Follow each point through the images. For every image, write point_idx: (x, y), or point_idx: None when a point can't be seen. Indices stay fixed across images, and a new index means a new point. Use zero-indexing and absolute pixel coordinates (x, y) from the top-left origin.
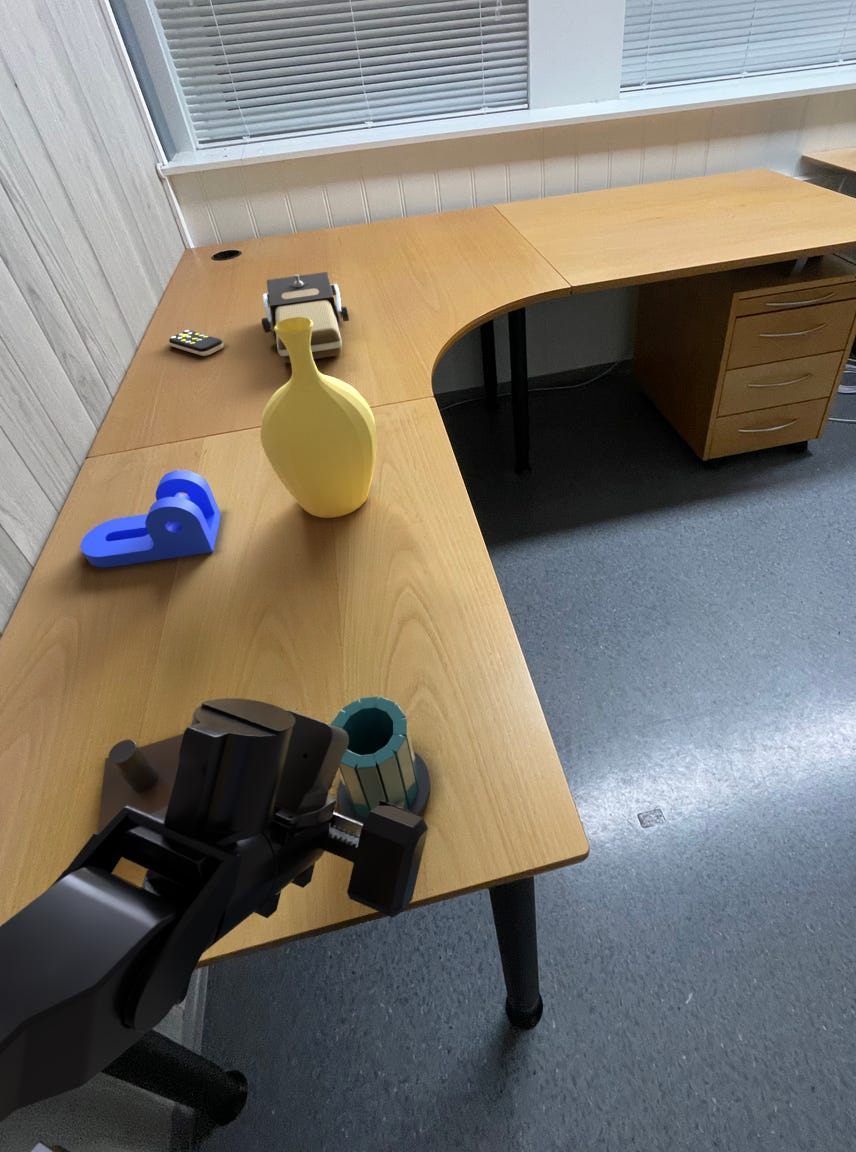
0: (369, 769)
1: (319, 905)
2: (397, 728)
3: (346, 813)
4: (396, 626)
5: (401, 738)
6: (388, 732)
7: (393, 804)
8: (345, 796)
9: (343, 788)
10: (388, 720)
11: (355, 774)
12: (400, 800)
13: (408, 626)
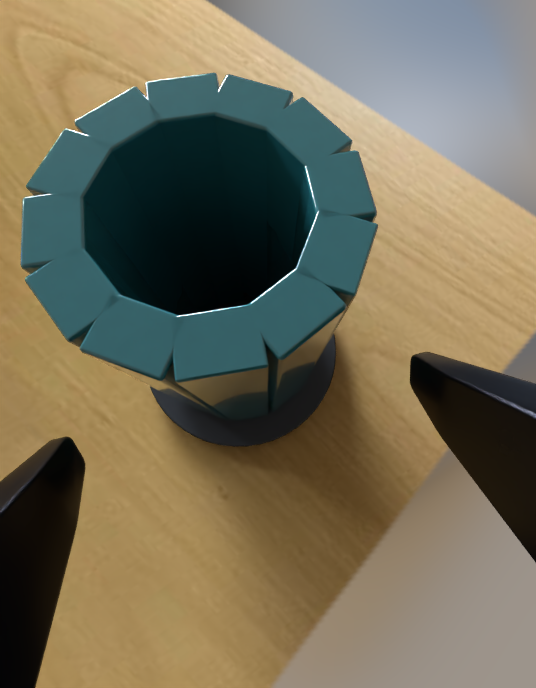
0: (324, 331)
1: (283, 610)
2: (304, 139)
3: (209, 433)
4: (50, 95)
5: (348, 161)
6: (219, 222)
7: (489, 388)
8: (183, 406)
9: (168, 396)
10: (222, 163)
11: (265, 379)
12: (425, 357)
13: (72, 85)
